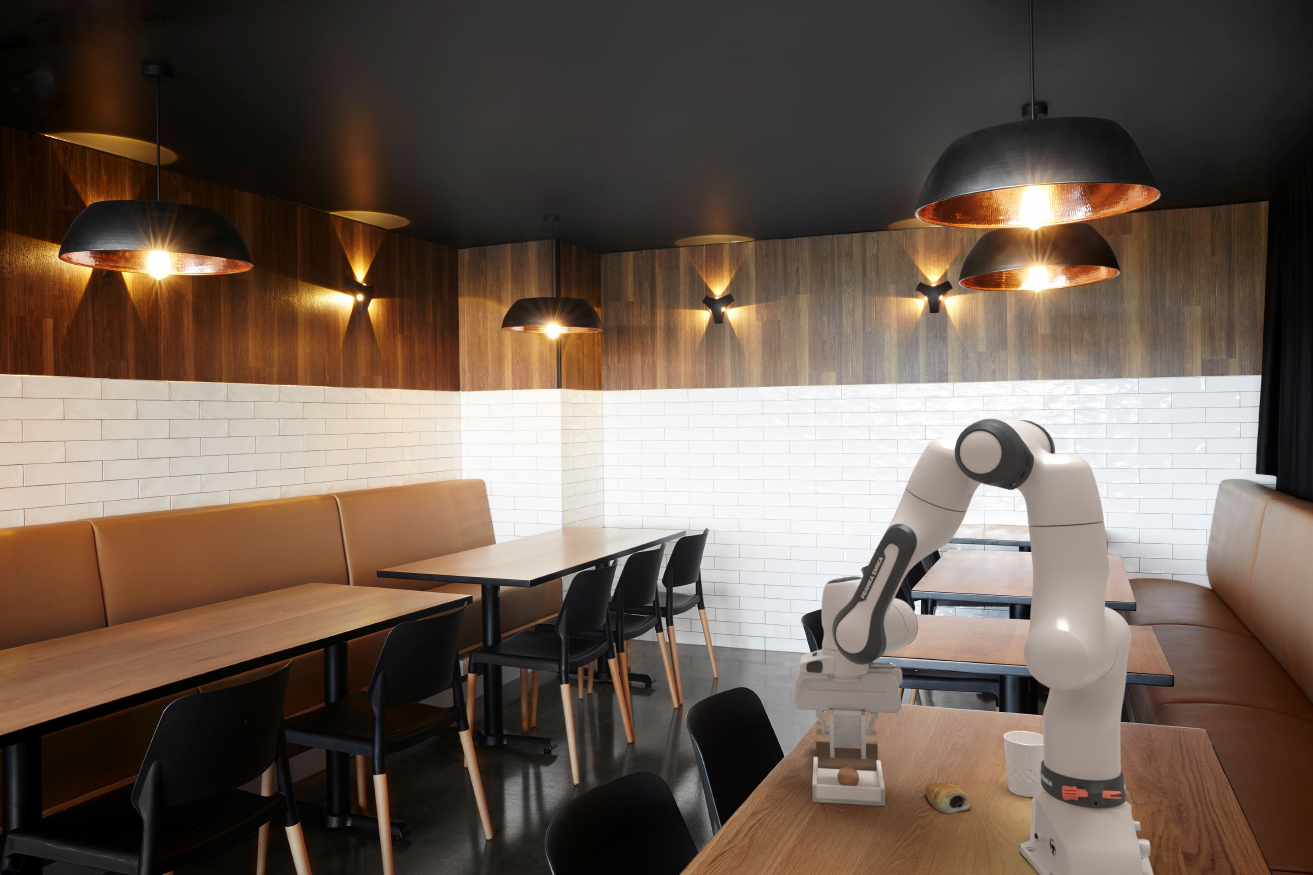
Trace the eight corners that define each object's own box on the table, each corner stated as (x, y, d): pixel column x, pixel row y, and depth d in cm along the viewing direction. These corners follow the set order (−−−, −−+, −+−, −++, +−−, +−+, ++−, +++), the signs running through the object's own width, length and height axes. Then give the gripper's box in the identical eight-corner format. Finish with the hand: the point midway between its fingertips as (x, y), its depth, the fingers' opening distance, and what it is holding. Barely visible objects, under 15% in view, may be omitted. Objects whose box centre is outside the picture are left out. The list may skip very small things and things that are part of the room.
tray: (885, 805, 161) (885, 789, 161) (812, 801, 163) (812, 785, 163) (880, 775, 175) (880, 760, 175) (813, 771, 178) (813, 756, 178)
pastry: (915, 795, 166) (915, 774, 166) (947, 791, 167) (947, 771, 167) (942, 815, 157) (942, 794, 157) (976, 811, 158) (976, 790, 158)
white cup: (1056, 789, 167) (1055, 736, 167) (1041, 802, 161) (1040, 747, 161) (1014, 779, 172) (1013, 727, 172) (997, 791, 166) (997, 738, 166)
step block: (878, 774, 176) (877, 744, 176) (816, 770, 178) (816, 741, 178) (875, 752, 187) (874, 724, 187) (817, 749, 190) (816, 721, 190)
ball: (858, 768, 170) (859, 791, 167) (836, 767, 170) (837, 789, 168) (859, 764, 166) (859, 786, 164) (837, 763, 167) (837, 785, 165)
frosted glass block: (865, 758, 166) (865, 711, 166) (830, 757, 168) (829, 709, 167) (864, 747, 172) (863, 701, 172) (830, 745, 173) (829, 699, 173)
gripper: (900, 658, 171) (902, 730, 171) (793, 655, 175) (794, 725, 175) (903, 666, 165) (904, 741, 165) (792, 663, 169) (793, 736, 169)
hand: (847, 733), depth 170 cm, fingers closed on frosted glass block, 7 cm apart
